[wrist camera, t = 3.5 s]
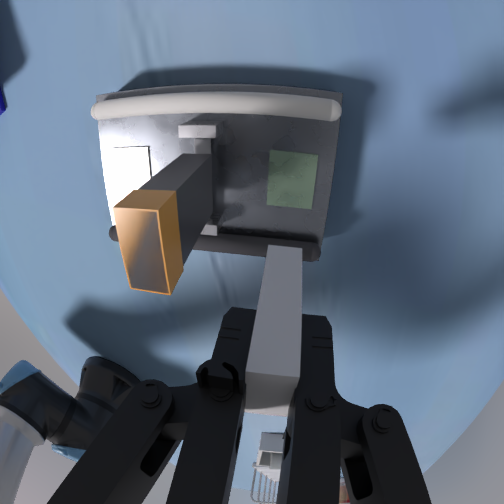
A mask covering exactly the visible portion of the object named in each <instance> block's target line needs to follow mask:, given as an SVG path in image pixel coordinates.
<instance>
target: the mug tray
mask: <svg viewBox="0 0 504 504" xmlns="http://www.w3.org/2000/svg"><path fill="white" fill-rule="evenodd" d="M283 435H284V434H272V433H261V438H260V444H259V449H258V455H257V462H256V465H257V466H267V467H269V464H270V452H274V453H283V444H284V439H282V438H283Z"/></svg>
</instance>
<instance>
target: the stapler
mask: <svg viewBox="0 0 504 504" xmlns="http://www.w3.org/2000/svg"><path fill="white" fill-rule="evenodd" d="M5 110H6V109H5V105H4V101H3V97H2V93H1V88H0V115H1V114H2V113H3V112H4V111H5Z"/></svg>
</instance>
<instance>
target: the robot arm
mask: <svg viewBox="0 0 504 504" xmlns="http://www.w3.org/2000/svg"><path fill="white" fill-rule="evenodd" d="M196 377H197V381H198V382H197V383H194V384H192V385H188V386H179V387H168V386H167V385H166V384H164V383H163V382H161V381H158V380H145V381H142V382H140V381H139V380H138V379H137V378H136V377H135V376H134V375H132V374H131V373H130V372H128V371H127V370H126V369H124V368H122V367H121V366H119V365H117V364H115V363H113V362H111V361H108V360H106V359H102V358H98V357H90V358H88V359H87V360H86V362H85V364H84V365H83V368H82V373H81V379H80V386H79V391H78V393H77V396H76V397H75V398H73V397H72V396H71V395H69V394H68V393H67V392H65V391H64V390H63V389H61V388H60V387H59V386H57V385H56V384H55V383H54V382H52V381H51V380H50V379H49V378H48V377H47V376H45V375H44V374H43V373H42V372H41V370H38V369H36V368H35V367H34V366H33V365H31V364H30V363H29V362H27V361H26V360H21V361H19V362H18V363H16V364H15V365H14V366H13V367H12V368H11V369H10V371H9V372H8V373H7V374H6V375H5V376H4V377H3V379H2V380H1V382H0V504H14V500H15V497H16V494H17V491H18V488H19V485H20V482H21V479H22V476H23V474H24V471H25V468H26V465H27V463H28V460H29V458H30V455H31V452H32V450H33V447H34V446H38V445H43V444H44V442H45V440H46V439H48V440H49V441H50V442H52V443H53V444H52V450H53V451H55V452H57V453H58V454H60V455H62V456H64V457H67V458H69V459H71V460H73V461H76V462H77V463H76V465H75V466H74V467H73V469H72V470H71V471H70V473H69V474H68V475H67V477H66V478H65V479H64V481H63V482H62V483H61V485H60V486H59V488H58V489H57V490H56V492H55V493H54V495H53V496H52V497H51V499H50V500H49V501H48V503H47V504H142V502H143V501H144V499H145V498H146V496H147V495H148V493H149V491H150V490H151V489H152V487H153V485H154V484H155V482H156V481H157V479H158V478H159V476H160V474H161V473H162V471H163V469H164V468H165V466H166V465H167V463H168V462H169V460H170V458H171V457H172V455H173V454H174V452H175V450H176V449H177V447H178V446H179V444H180V442H181V441H182V440H183V444H182V448H181V451H180V455H179V458H178V462H177V465H176V469H175V472H174V476H173V480H172V483H171V487H170V491H169V494H168V498H167V502H166V504H228V501H229V496H230V491H231V486H232V481H233V475H234V470H235V465H236V459H237V454H238V448H239V443H240V437H241V432H242V422H243V416H244V412H248V413H256V414H264V415H273V416H284V417H287V415H288V419H287V427H286V429H285V432H284V435H283V438H282V439H284V444H283V453H282V462H281V470H280V478H279V486H278V494H277V501H276V504H339V496H340V468H342V472H343V476H344V480H345V484H346V488H347V492H348V496H349V501H350V504H432V503H431V500H430V497H429V494H428V490H427V487H426V484H425V481H424V478H423V475H422V472H421V469H420V466H419V463H418V461H417V458H416V455H415V452H414V449H413V447H412V444H411V441H410V438H409V436H408V433H407V431H406V428H405V425H404V423H403V420H402V418H401V416H400V414H399V413H398V411H397V410H396V409H394V408H393V407H392V406H389V405H385V404H377V405H374V406H372V407H370V408H369V409H367V408H364V407H361V406H358V405H355V404H352V403H350V402H348V401H346V400H345V399H343V398H342V397H341V396H340V394H339V393H338V391H337V389H336V386H335V376H334V355H333V340H332V326H331V325H330V323H329V321H328V320H327V318H326V316H318V315H307V314H302V248H295V247H285V246H276V245H268V250H267V255H266V261H265V267H264V273H263V278H262V284H261V289H260V295H259V301H258V306H257V310H253V309H245V308H237V307H231V309H230V310H229V311H228V312H227V313H226V314H225V315H224V317H223V320H222V324H221V328H220V331H219V334H218V338H217V341H216V344H215V348H214V351H213V355H212V358H211V359H210V360H207V361H205V362H204V363H203V364H201V365H200V366H199V368H198V370H197V371H196Z"/></svg>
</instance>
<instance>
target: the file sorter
mask: <svg viewBox="0 0 504 504" xmlns="http://www.w3.org/2000/svg"><path fill="white" fill-rule="evenodd" d="M252 467H253V468H254V469H255V470H254V476H253V482H252V489H251V500H252V501H253V502H256V503H259V504H261V503H263V504H265V503H267V504H276V502H274V495H275V487H276V482H279V478H280V470H281V469H269V467H267V466H257V465H256V463H253V466H252ZM256 470H257V471H259V472H260V480H259V489H258V498H257V501H255V500H254V499H253V497H252V495H253V488H254V482H255V476H256ZM262 474H263V475H265V476H266V477H265V486H264V495H263V502H260V501H259V495H260V487H261V478H262ZM267 477H268V478H269V479H270V486H269V495H268V502H265V491H266V482H267ZM272 481H274V482H275V483H274V491H273V499H272V502H269V499H270V491H271V482H272Z"/></svg>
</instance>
